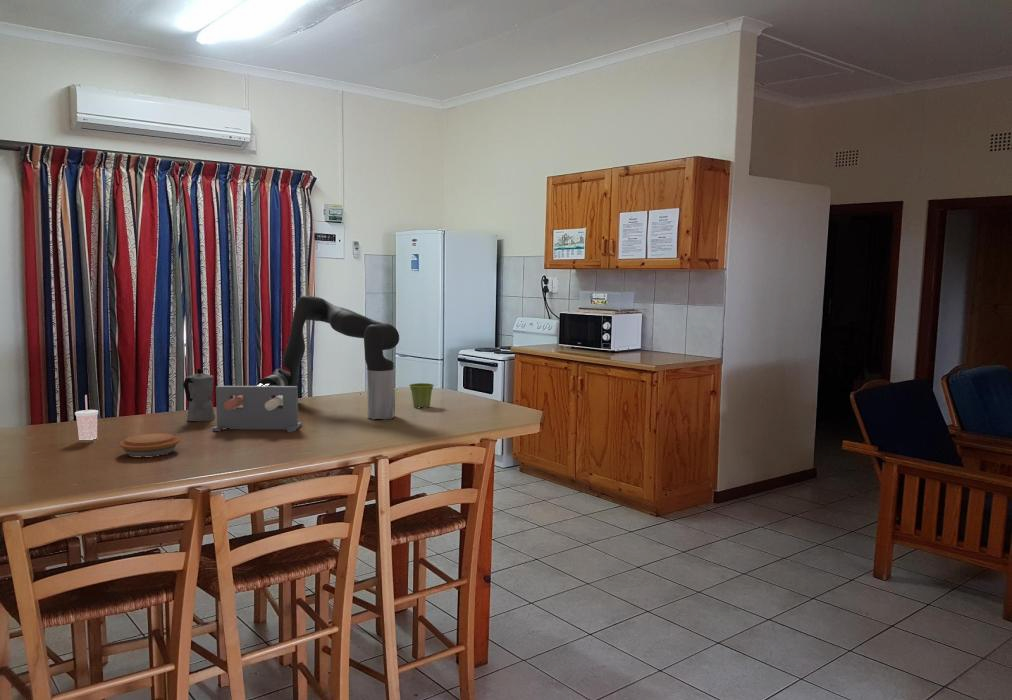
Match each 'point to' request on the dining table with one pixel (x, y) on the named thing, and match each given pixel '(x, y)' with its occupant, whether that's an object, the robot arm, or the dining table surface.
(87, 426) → the beverage cup
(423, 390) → the plant pot
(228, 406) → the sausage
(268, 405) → the beige lever
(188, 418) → the coffeepot
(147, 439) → the pie
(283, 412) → the panel
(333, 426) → the dining table surface
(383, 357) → the robot arm
